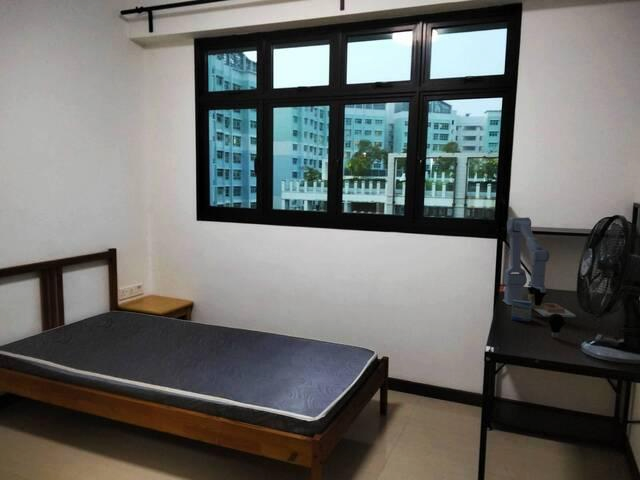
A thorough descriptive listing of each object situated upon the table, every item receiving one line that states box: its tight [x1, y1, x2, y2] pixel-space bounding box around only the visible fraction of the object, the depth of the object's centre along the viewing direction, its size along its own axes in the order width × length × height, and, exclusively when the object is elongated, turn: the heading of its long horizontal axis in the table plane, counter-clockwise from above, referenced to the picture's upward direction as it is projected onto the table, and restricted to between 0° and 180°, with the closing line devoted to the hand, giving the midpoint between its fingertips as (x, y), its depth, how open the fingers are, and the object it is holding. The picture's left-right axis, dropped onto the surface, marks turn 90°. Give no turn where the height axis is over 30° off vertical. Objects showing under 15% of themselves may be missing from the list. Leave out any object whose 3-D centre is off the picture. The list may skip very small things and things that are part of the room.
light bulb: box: [547, 314, 566, 339], centre depth 186 cm, size 6×6×10 cm
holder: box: [533, 302, 577, 318], centre depth 225 cm, size 18×14×3 cm
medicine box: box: [510, 299, 533, 323], centre depth 211 cm, size 8×4×9 cm, turn 62°
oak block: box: [527, 293, 546, 310], centre depth 217 cm, size 4×6×6 cm, turn 87°
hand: (535, 304), depth 217 cm, fingers closed on oak block, 4 cm apart
